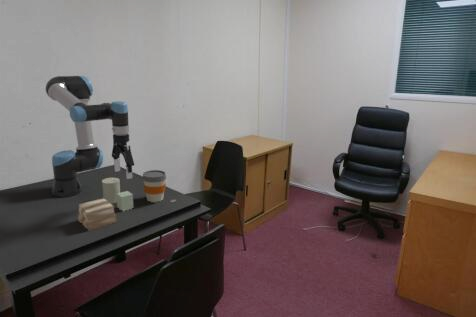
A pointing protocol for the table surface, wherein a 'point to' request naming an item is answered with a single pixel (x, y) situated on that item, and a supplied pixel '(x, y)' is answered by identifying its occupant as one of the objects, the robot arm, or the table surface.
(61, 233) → the table surface
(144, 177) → the reusable coffee cup
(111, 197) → the can
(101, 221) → the block
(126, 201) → the green block
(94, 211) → the tower top
